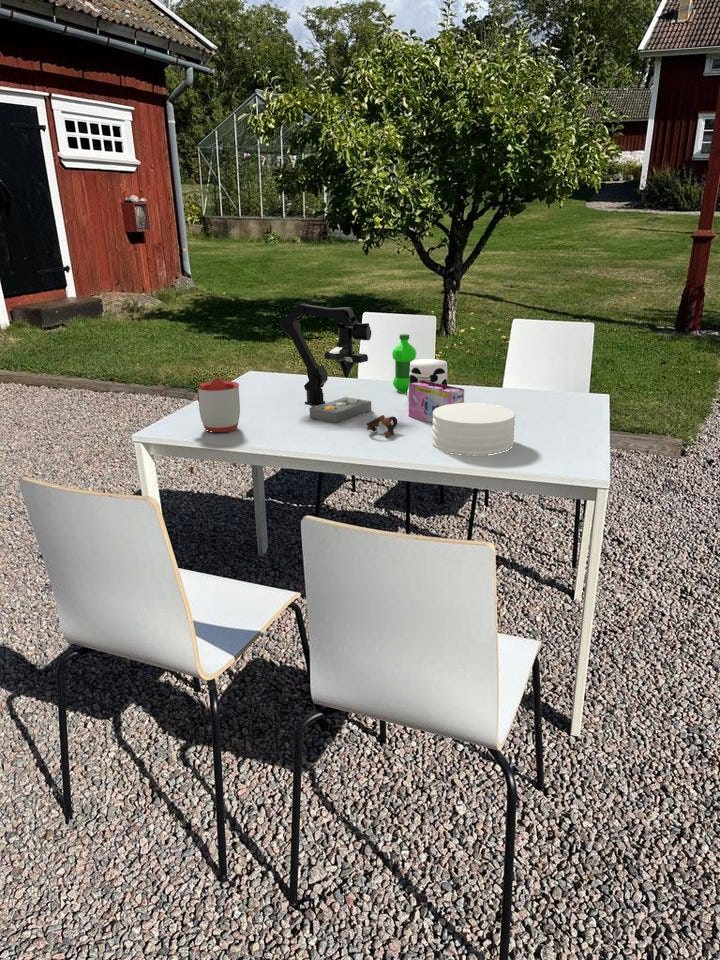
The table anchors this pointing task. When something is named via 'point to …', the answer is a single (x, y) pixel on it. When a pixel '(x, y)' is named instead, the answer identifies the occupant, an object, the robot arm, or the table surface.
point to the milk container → (428, 371)
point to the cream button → (352, 400)
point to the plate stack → (473, 428)
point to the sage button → (341, 404)
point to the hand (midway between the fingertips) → (346, 377)
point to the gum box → (431, 398)
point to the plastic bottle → (403, 363)
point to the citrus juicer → (219, 405)
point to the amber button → (329, 408)
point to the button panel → (340, 410)
